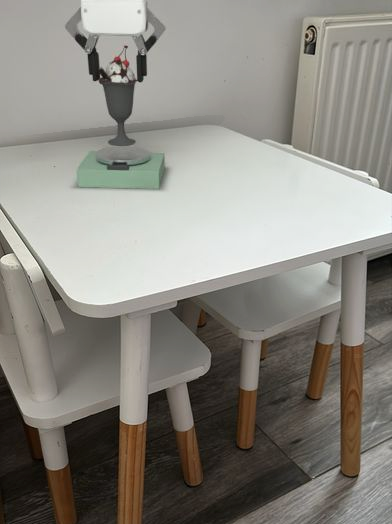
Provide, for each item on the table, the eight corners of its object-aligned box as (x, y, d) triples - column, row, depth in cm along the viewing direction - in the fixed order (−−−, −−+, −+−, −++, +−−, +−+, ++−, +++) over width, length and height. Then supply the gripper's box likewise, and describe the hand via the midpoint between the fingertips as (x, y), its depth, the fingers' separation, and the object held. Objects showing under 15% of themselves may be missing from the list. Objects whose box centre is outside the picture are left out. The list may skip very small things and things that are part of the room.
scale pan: (91, 164, 96) (90, 159, 95) (101, 149, 104) (100, 145, 103) (147, 166, 96) (146, 161, 95) (152, 151, 103) (152, 146, 103)
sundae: (144, 139, 100) (141, 44, 92) (135, 148, 95) (130, 49, 86) (109, 136, 101) (103, 43, 93) (97, 146, 96) (90, 47, 87)
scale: (78, 187, 96) (75, 165, 94) (91, 166, 106) (89, 147, 104) (159, 189, 96) (158, 168, 94) (164, 168, 106) (164, 149, 104)
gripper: (171, -50, 85) (172, 78, 95) (58, -52, 86) (71, 76, 96) (167, -52, 79) (169, 85, 89) (46, -54, 80) (61, 83, 90)
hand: (118, 79), depth 92 cm, fingers closed on sundae, 6 cm apart
